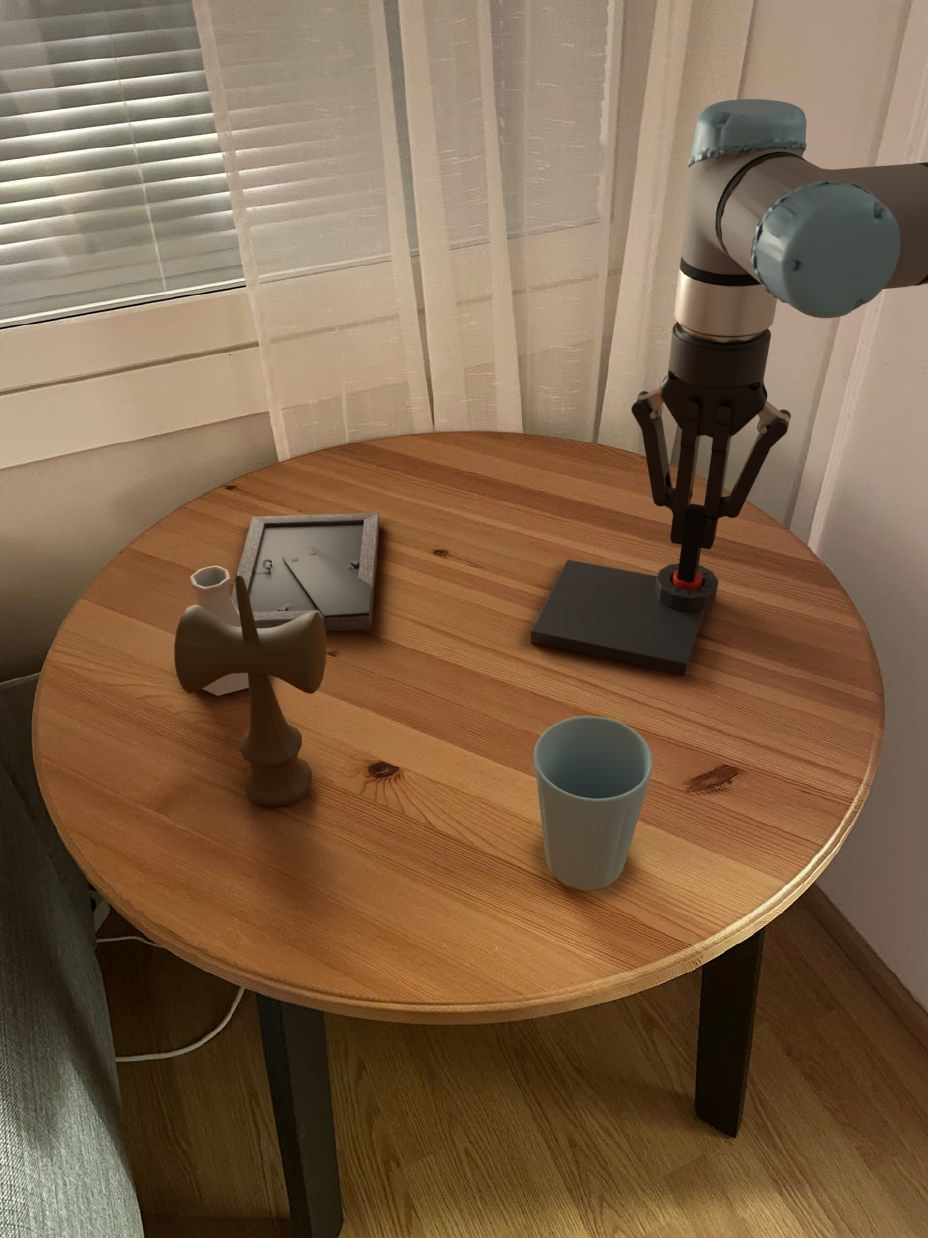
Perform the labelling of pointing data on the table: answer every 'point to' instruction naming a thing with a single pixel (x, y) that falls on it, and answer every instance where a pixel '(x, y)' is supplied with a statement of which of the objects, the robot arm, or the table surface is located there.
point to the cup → (590, 797)
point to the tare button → (687, 582)
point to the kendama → (257, 686)
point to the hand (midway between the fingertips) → (687, 572)
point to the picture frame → (311, 569)
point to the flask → (219, 603)
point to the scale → (625, 615)
